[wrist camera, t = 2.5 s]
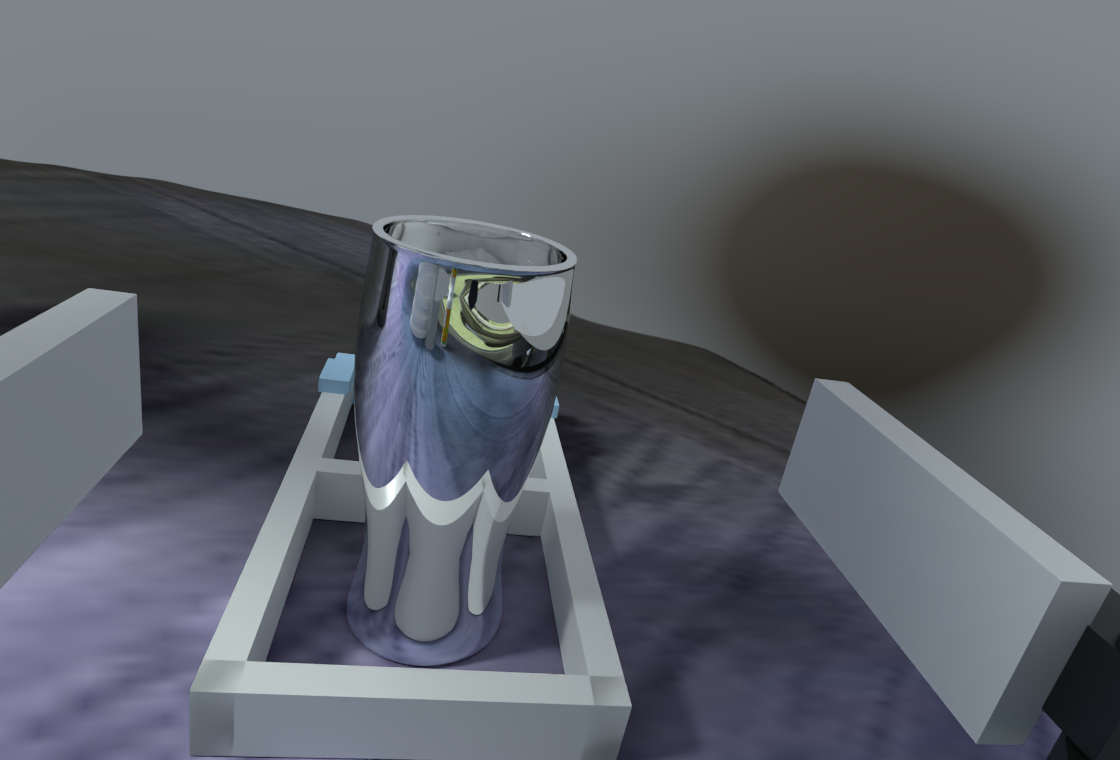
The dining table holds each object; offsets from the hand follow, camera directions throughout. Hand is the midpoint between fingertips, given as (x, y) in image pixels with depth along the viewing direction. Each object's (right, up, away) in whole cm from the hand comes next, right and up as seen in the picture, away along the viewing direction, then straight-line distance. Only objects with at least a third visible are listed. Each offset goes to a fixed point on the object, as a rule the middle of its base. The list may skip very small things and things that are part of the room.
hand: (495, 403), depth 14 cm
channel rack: (-5, -6, +20) cm, 21 cm away
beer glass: (-4, -9, +14) cm, 17 cm away
